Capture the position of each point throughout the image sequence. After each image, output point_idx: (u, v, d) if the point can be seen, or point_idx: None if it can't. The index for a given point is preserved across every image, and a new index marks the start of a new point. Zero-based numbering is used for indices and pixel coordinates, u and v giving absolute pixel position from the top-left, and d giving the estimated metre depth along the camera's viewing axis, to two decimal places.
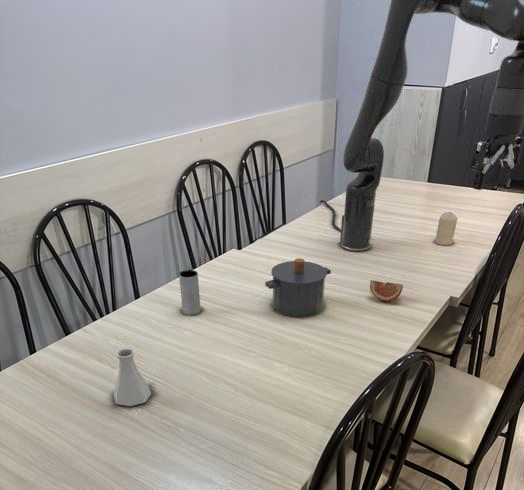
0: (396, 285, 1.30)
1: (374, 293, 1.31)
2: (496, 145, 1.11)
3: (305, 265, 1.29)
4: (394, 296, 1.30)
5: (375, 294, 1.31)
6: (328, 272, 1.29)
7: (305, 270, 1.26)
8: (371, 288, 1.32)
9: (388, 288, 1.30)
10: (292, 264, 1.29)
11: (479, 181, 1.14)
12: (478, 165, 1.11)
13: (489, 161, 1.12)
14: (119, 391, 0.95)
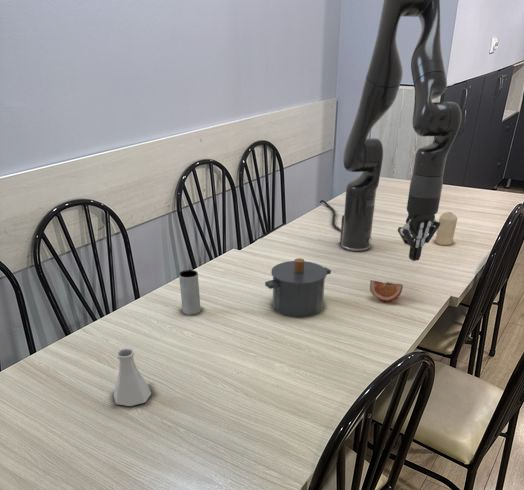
0: (396, 285, 1.30)
1: (374, 293, 1.31)
2: (415, 222, 1.25)
3: (305, 265, 1.29)
4: (394, 296, 1.30)
5: (375, 294, 1.31)
6: (328, 272, 1.29)
7: (305, 270, 1.26)
8: (371, 288, 1.32)
9: (388, 288, 1.30)
10: (292, 264, 1.29)
11: (413, 254, 1.30)
12: (410, 244, 1.27)
13: (417, 239, 1.27)
14: (119, 391, 0.95)
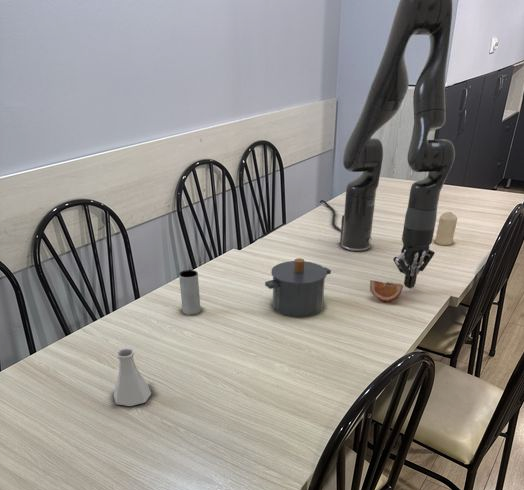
0: (396, 285, 1.30)
1: (374, 293, 1.31)
2: (410, 252, 1.29)
3: (305, 265, 1.29)
4: (394, 296, 1.30)
5: (375, 294, 1.31)
6: (328, 272, 1.29)
7: (305, 270, 1.26)
8: (371, 288, 1.32)
9: (388, 288, 1.30)
10: (292, 264, 1.29)
11: (408, 282, 1.34)
12: (405, 273, 1.31)
13: (411, 267, 1.31)
14: (119, 391, 0.95)
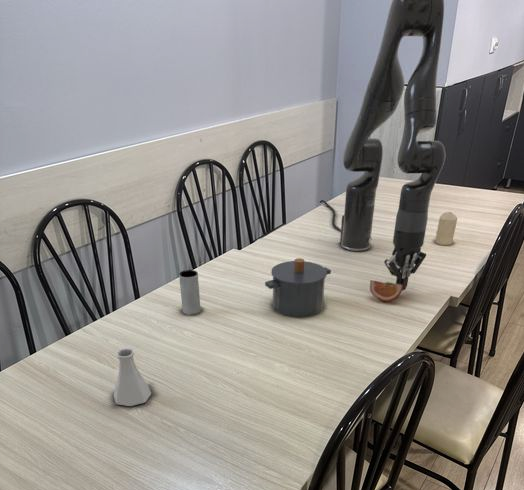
0: (396, 285, 1.30)
1: (374, 293, 1.31)
2: (401, 255, 1.27)
3: (305, 265, 1.29)
4: (394, 296, 1.30)
5: (375, 294, 1.31)
6: (328, 272, 1.29)
7: (305, 270, 1.26)
8: (371, 288, 1.32)
9: (388, 288, 1.30)
10: (292, 264, 1.29)
11: None
12: (396, 275, 1.30)
13: (403, 270, 1.30)
14: (119, 391, 0.95)
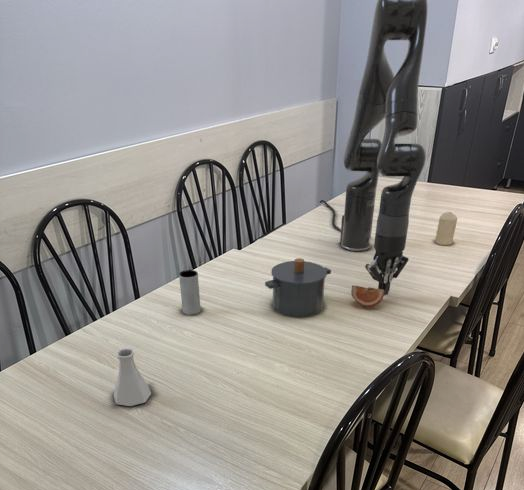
0: (378, 290, 1.27)
1: (355, 298, 1.29)
2: (383, 259, 1.25)
3: (305, 265, 1.29)
4: (376, 301, 1.27)
5: (357, 299, 1.28)
6: (328, 272, 1.29)
7: (305, 270, 1.26)
8: (352, 293, 1.29)
9: (369, 293, 1.28)
10: (292, 264, 1.29)
11: None
12: (377, 280, 1.27)
13: (384, 275, 1.27)
14: (119, 391, 0.95)
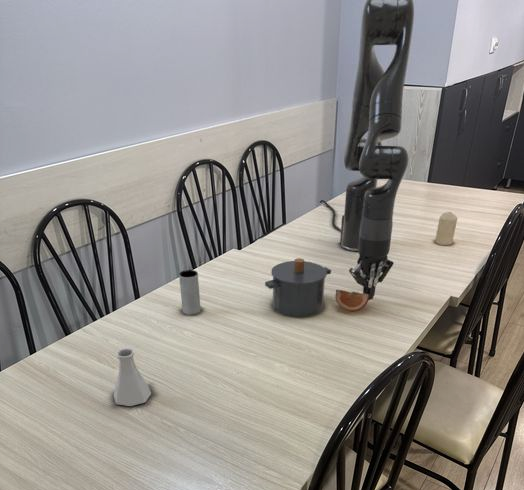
0: (362, 295, 1.25)
1: (340, 303, 1.26)
2: (366, 263, 1.23)
3: (305, 265, 1.29)
4: (360, 306, 1.25)
5: (341, 304, 1.26)
6: (328, 272, 1.29)
7: (305, 270, 1.26)
8: (336, 298, 1.27)
9: (353, 298, 1.26)
10: (292, 264, 1.29)
11: (367, 293, 1.28)
12: (362, 284, 1.25)
13: (369, 279, 1.25)
14: (119, 391, 0.95)
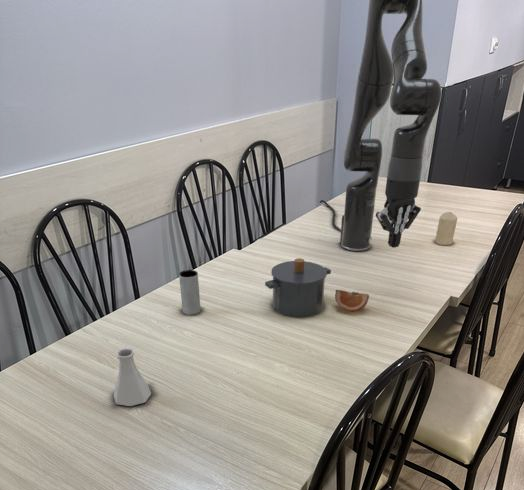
0: (362, 295, 1.25)
1: (339, 303, 1.26)
2: (394, 207, 1.19)
3: (305, 265, 1.29)
4: (360, 306, 1.25)
5: (340, 304, 1.26)
6: (328, 272, 1.29)
7: (305, 270, 1.26)
8: (336, 298, 1.27)
9: (353, 298, 1.26)
10: (292, 264, 1.29)
11: (393, 240, 1.25)
12: (388, 230, 1.22)
13: (396, 224, 1.22)
14: (119, 391, 0.95)
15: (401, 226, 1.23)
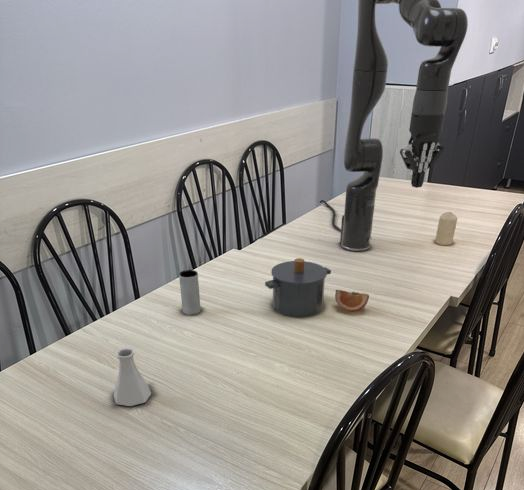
0: (362, 295, 1.25)
1: (339, 303, 1.26)
2: (418, 143, 1.19)
3: (305, 265, 1.29)
4: (360, 306, 1.25)
5: (340, 304, 1.26)
6: (328, 272, 1.29)
7: (305, 270, 1.26)
8: (336, 298, 1.27)
9: (353, 298, 1.26)
10: (292, 264, 1.29)
11: (416, 179, 1.25)
12: (412, 167, 1.22)
13: (420, 162, 1.22)
14: (119, 391, 0.95)
15: (425, 165, 1.23)
